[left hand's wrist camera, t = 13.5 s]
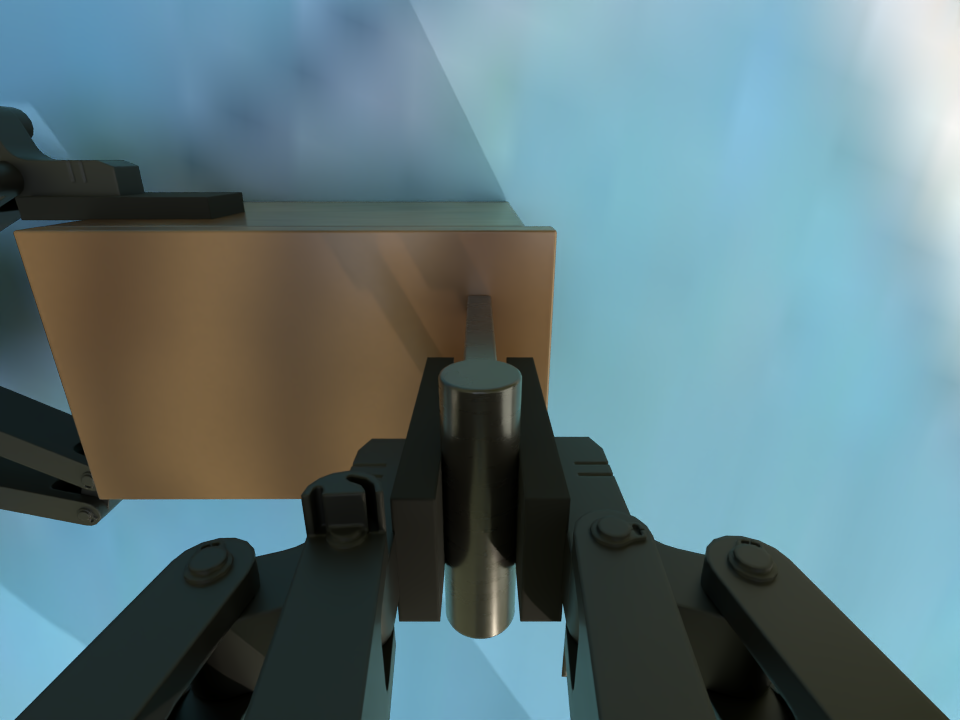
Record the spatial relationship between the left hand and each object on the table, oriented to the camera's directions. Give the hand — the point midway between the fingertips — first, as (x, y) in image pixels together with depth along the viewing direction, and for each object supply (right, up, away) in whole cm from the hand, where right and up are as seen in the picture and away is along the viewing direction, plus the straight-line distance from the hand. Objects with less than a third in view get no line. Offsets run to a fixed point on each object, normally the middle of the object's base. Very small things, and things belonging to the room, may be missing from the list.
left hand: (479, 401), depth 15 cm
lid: (-6, +1, +3) cm, 6 cm away
